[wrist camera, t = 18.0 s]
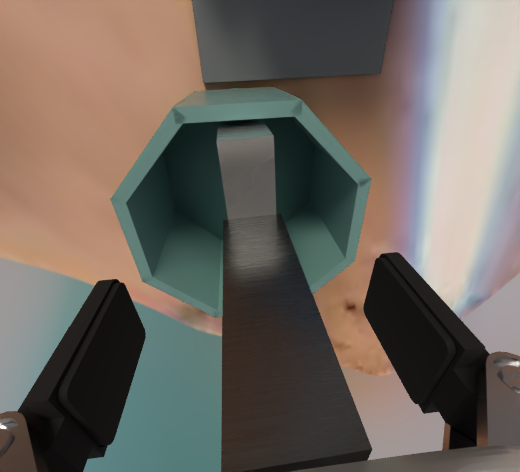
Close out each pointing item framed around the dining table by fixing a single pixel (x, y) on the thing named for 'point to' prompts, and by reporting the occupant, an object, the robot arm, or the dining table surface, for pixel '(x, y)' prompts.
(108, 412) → the robot arm
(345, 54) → the rubber mat
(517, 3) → the dining table surface
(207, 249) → the utensil pot
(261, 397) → the brushed metal bar
